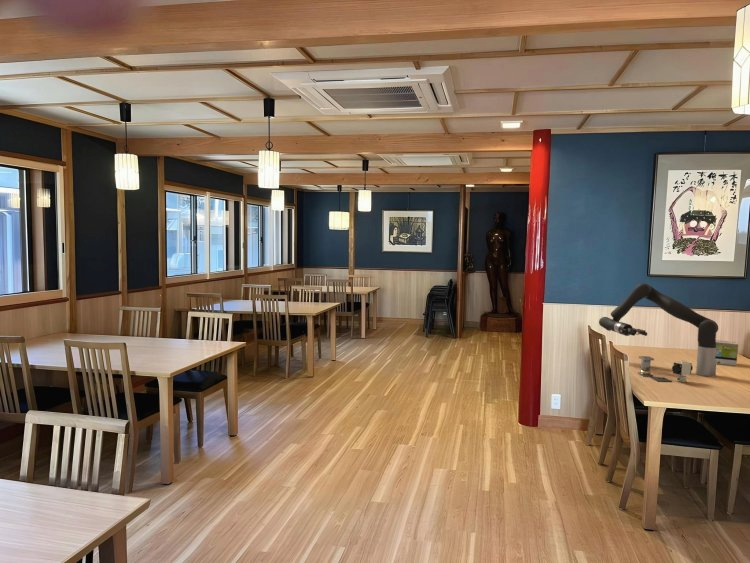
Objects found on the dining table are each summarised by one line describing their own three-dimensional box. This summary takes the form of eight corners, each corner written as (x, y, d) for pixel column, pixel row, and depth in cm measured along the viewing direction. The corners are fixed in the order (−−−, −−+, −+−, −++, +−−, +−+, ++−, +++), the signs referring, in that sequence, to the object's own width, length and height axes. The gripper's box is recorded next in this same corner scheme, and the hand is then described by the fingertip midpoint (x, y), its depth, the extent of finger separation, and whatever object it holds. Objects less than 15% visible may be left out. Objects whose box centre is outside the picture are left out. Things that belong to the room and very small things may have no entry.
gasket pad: (664, 378, 314) (664, 377, 314) (671, 381, 306) (671, 381, 306) (650, 378, 314) (650, 377, 314) (657, 381, 306) (657, 380, 306)
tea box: (710, 363, 359) (711, 341, 357) (707, 360, 368) (708, 339, 367) (736, 366, 353) (738, 343, 352) (733, 363, 362) (734, 341, 361)
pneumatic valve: (692, 381, 308) (693, 361, 307) (678, 383, 303) (679, 362, 302) (683, 379, 313) (684, 359, 312) (669, 381, 308) (670, 360, 307)
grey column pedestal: (647, 374, 323) (648, 356, 322) (652, 376, 317) (654, 358, 316) (637, 374, 323) (638, 356, 322) (642, 376, 317) (643, 358, 316)
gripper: (614, 322, 343) (631, 327, 327) (633, 323, 346) (651, 328, 330) (612, 334, 343) (629, 340, 328) (632, 334, 346) (650, 340, 331)
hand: (640, 334), depth 329 cm, fingers open, 8 cm apart
